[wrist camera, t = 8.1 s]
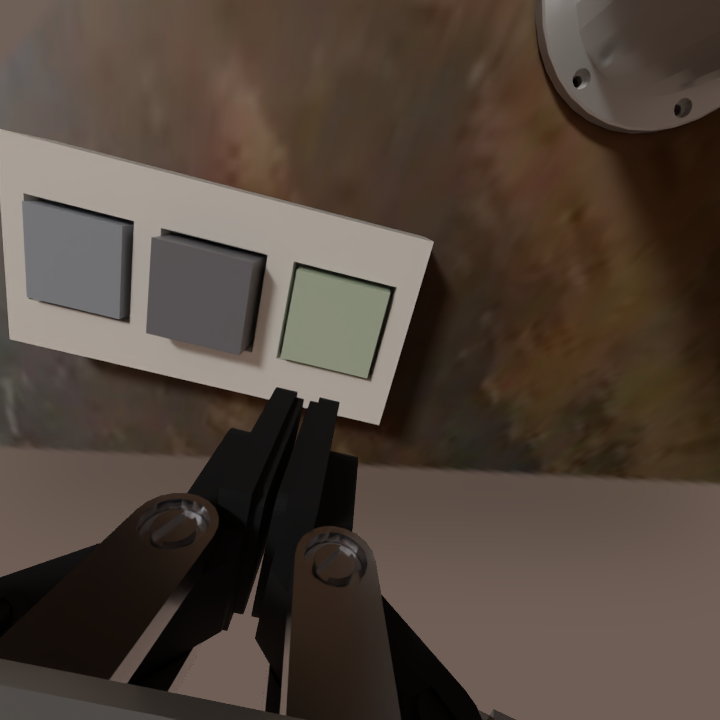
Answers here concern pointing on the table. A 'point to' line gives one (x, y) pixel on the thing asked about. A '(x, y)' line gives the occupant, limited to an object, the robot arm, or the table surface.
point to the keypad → (219, 225)
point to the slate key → (78, 257)
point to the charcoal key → (204, 292)
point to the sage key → (334, 320)
